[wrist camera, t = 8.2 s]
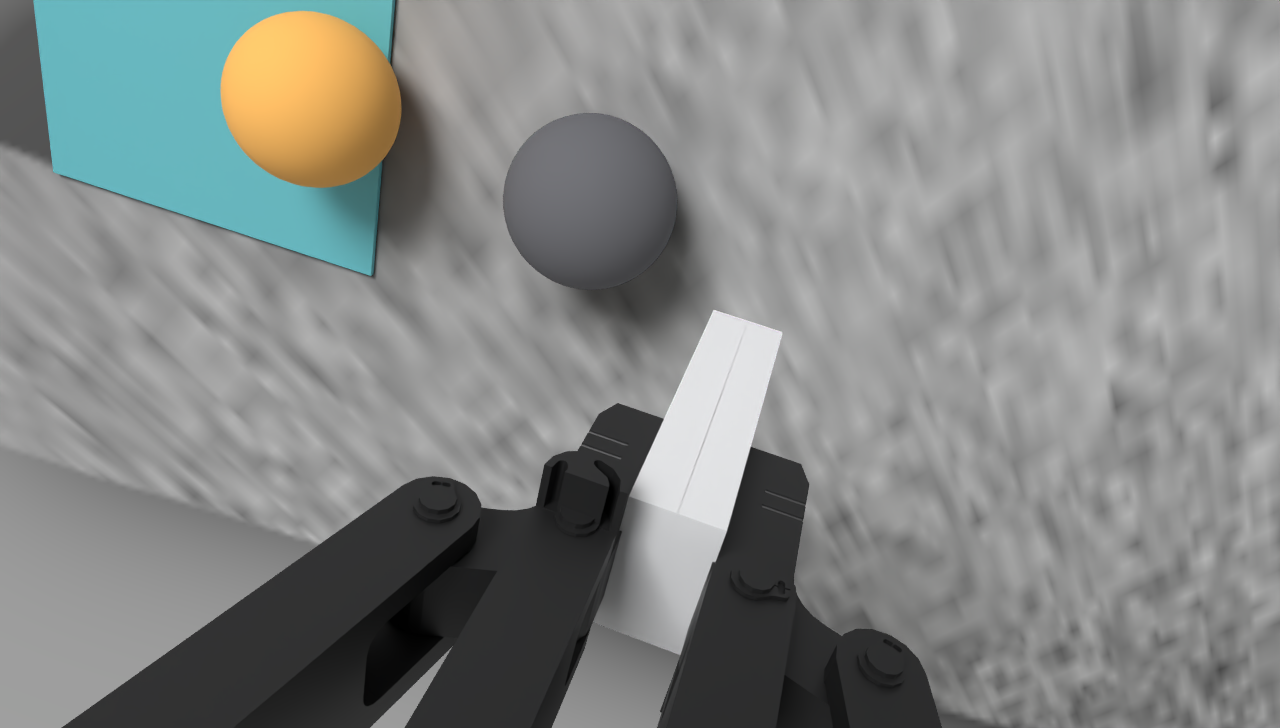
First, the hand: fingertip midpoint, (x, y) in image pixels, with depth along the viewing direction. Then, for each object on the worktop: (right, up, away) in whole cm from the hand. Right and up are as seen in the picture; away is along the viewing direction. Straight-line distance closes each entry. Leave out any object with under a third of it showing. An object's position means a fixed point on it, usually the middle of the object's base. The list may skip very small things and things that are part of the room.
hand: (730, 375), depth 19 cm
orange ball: (-13, +9, +10) cm, 18 cm away
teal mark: (-17, +12, +13) cm, 25 cm away
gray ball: (-3, +5, +9) cm, 11 cm away
